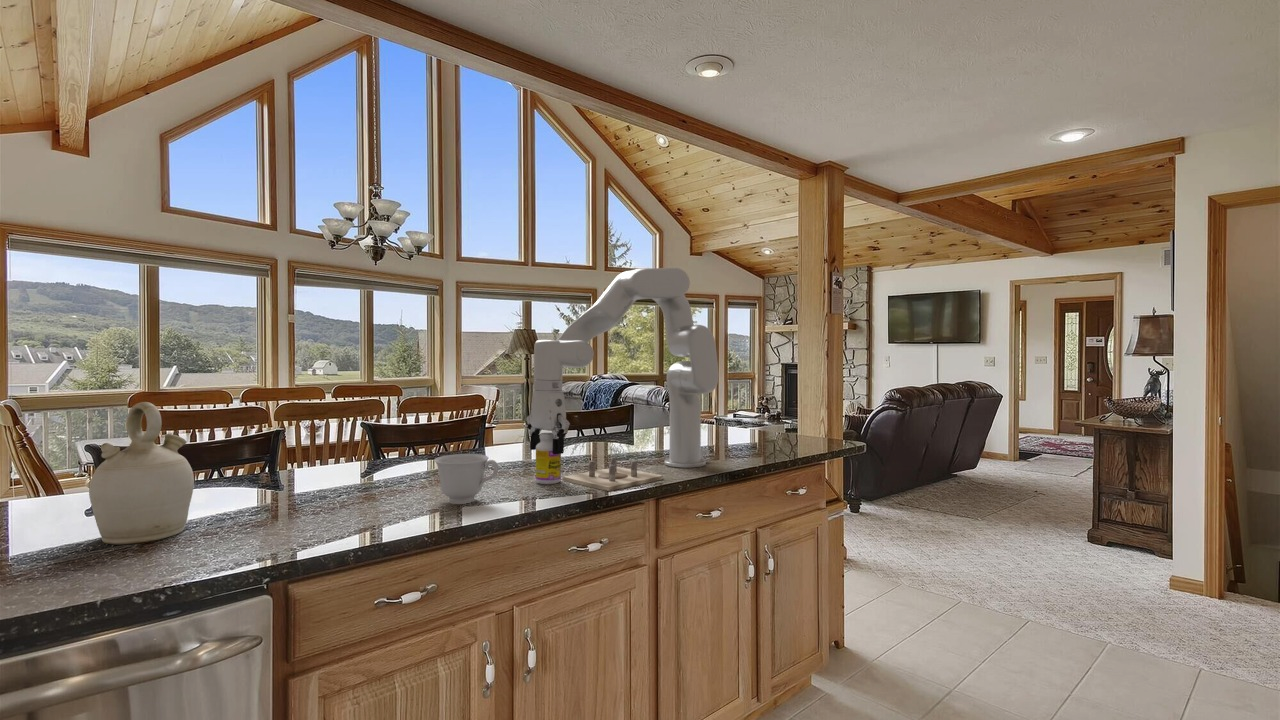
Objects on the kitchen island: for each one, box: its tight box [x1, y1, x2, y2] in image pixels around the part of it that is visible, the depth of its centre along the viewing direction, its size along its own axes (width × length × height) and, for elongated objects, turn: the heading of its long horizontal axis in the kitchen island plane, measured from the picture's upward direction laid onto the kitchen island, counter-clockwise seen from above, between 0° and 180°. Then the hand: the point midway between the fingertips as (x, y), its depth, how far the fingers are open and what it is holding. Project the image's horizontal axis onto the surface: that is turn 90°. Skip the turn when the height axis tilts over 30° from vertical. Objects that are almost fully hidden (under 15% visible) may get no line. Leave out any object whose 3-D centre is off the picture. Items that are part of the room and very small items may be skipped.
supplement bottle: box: [535, 432, 562, 485], centre depth 163 cm, size 7×7×13 cm
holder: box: [562, 456, 664, 492], centre depth 166 cm, size 20×18×5 cm
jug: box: [88, 401, 195, 545], centre depth 116 cm, size 15×16×25 cm
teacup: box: [433, 453, 499, 505], centre depth 142 cm, size 12×15×10 cm
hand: (546, 451), depth 163 cm, fingers open, 9 cm apart
